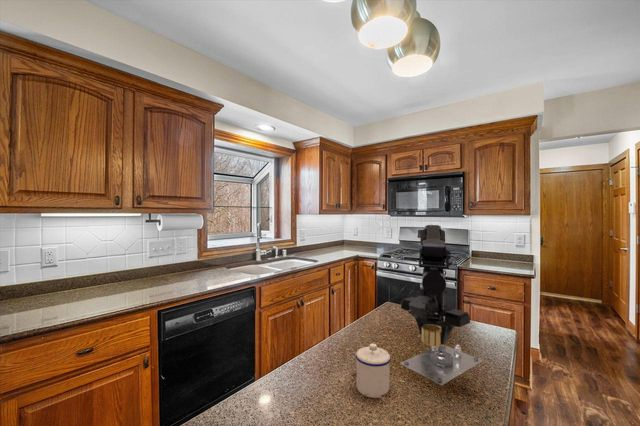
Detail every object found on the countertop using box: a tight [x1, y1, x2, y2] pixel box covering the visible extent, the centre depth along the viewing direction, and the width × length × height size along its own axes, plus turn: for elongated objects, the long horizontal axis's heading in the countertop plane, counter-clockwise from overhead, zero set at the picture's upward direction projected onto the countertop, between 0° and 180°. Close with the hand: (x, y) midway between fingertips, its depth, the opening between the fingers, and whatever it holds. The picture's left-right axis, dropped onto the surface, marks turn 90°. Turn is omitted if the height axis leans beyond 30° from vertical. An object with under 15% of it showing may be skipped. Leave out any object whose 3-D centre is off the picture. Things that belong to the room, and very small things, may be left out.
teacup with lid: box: [354, 343, 391, 399], centre depth 79 cm, size 12×9×12 cm
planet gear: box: [421, 324, 443, 347], centre depth 84 cm, size 6×6×4 cm
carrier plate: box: [399, 343, 484, 386], centre depth 90 cm, size 14×23×4 cm, turn 126°
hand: (432, 340), depth 84 cm, fingers closed on planet gear, 6 cm apart
